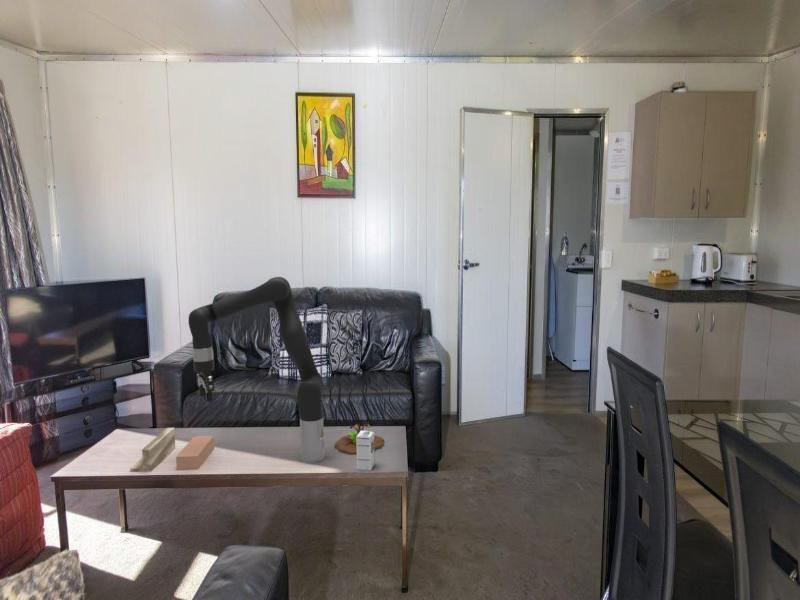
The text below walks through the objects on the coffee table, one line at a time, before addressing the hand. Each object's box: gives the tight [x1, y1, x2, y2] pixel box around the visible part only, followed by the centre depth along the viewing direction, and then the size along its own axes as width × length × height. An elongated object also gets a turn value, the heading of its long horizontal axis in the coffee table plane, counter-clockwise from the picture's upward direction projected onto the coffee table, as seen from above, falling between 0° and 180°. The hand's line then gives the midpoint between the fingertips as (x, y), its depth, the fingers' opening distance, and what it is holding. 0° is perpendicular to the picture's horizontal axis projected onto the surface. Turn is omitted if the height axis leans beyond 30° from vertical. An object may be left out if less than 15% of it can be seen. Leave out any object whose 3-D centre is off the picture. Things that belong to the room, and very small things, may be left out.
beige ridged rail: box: [129, 427, 176, 473], centre depth 205 cm, size 8×22×9 cm, turn 1°
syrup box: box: [356, 430, 376, 471], centre depth 197 cm, size 6×6×14 cm
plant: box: [333, 423, 385, 456], centre depth 218 cm, size 20×20×11 cm
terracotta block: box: [175, 435, 215, 471], centre depth 206 cm, size 8×20×6 cm, turn 3°
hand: (206, 398), depth 201 cm, fingers open, 8 cm apart
